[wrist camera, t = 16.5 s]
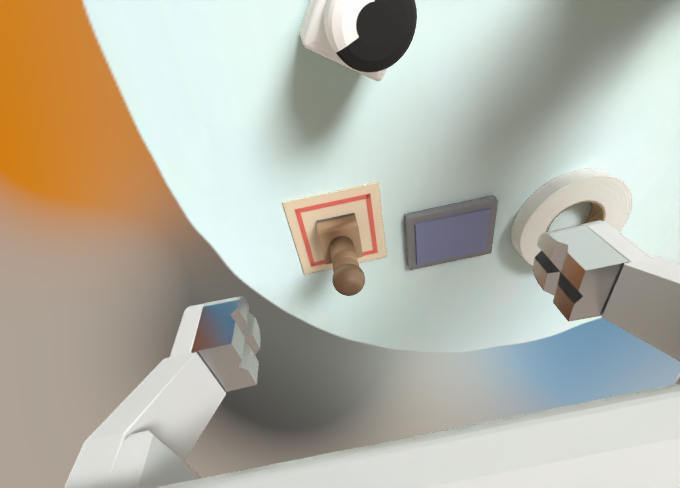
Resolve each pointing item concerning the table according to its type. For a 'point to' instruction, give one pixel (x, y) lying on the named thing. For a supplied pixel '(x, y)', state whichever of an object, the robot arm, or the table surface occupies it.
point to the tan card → (331, 205)
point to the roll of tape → (563, 192)
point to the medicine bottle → (360, 32)
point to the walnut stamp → (342, 251)
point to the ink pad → (450, 232)
